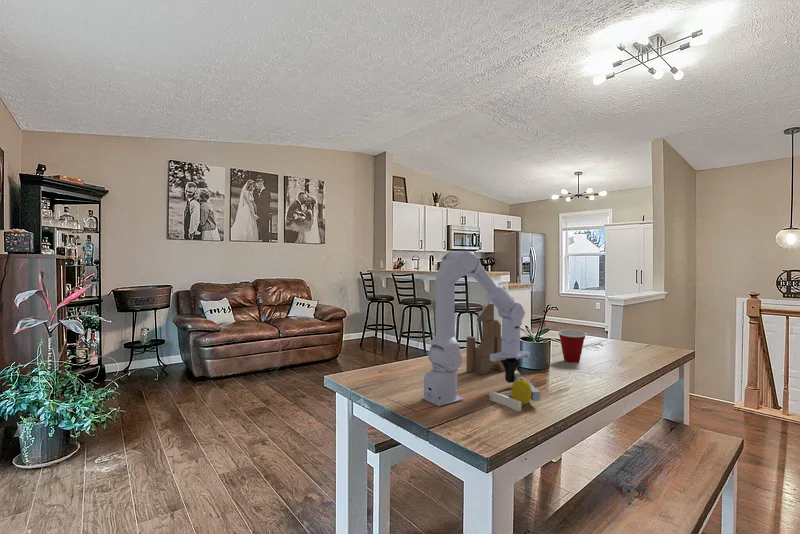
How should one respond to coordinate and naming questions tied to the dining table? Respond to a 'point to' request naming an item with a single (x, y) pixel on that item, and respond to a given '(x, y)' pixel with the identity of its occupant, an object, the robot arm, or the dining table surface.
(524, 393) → the lemon
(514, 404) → the cream l-shaped bracket
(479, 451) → the dining table surface
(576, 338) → the plastic cup
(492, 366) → the wooden toy
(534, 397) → the lever
